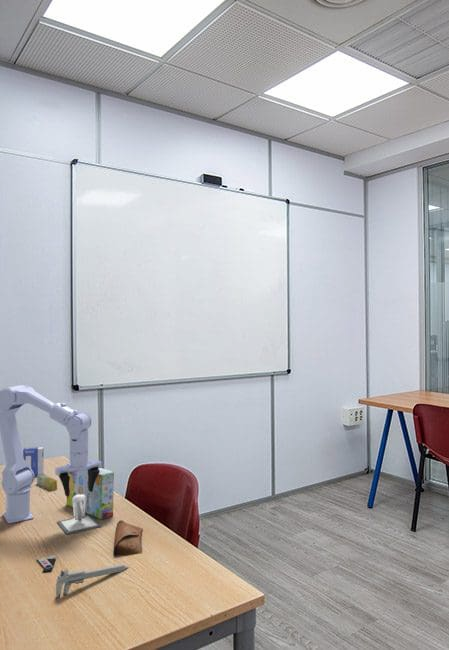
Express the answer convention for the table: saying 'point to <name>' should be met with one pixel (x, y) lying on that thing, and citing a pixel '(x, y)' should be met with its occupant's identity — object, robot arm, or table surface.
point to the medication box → (47, 482)
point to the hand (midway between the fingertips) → (78, 493)
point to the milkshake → (79, 509)
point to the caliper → (83, 577)
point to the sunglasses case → (127, 539)
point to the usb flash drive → (47, 563)
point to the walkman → (35, 459)
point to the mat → (71, 528)
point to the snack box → (93, 492)
